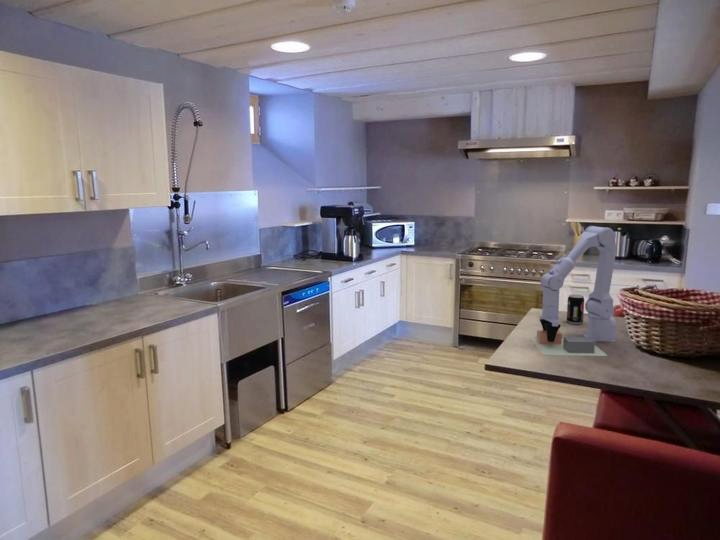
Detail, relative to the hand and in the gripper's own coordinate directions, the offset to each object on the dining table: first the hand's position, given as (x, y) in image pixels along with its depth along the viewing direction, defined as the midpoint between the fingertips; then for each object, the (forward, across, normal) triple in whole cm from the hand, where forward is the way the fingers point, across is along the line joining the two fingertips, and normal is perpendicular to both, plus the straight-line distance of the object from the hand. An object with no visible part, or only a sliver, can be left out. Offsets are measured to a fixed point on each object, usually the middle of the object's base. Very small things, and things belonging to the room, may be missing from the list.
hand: (549, 339), depth 194 cm
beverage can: (+2, -30, +19) cm, 36 cm away
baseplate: (+1, +5, +5) cm, 7 cm away
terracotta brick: (+1, 0, 0) cm, 1 cm away
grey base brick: (+1, +9, +8) cm, 12 cm away
